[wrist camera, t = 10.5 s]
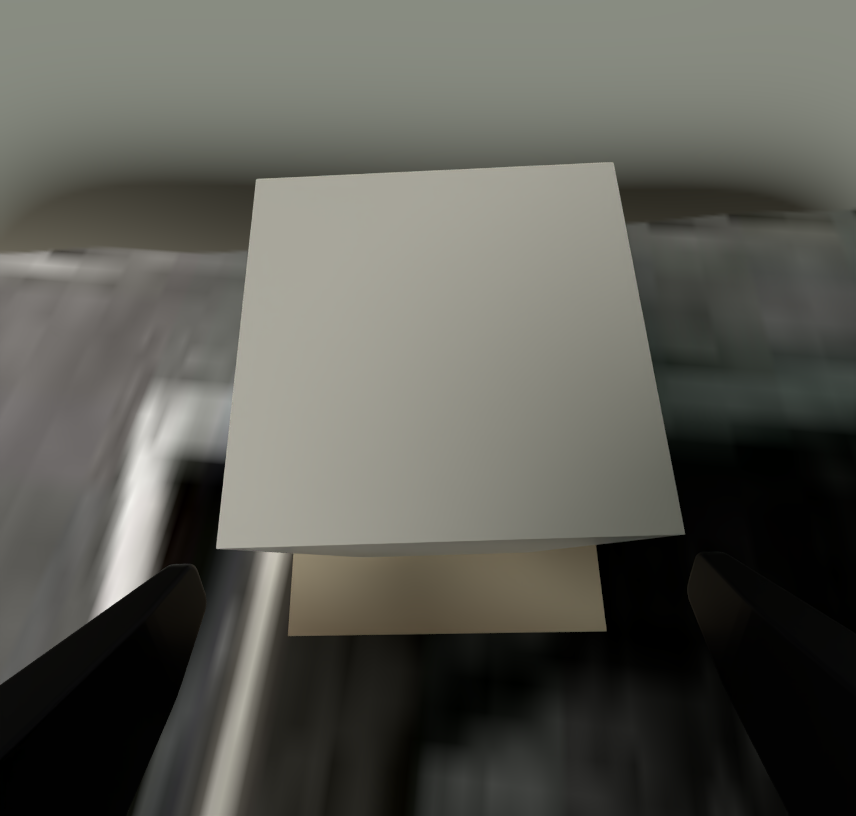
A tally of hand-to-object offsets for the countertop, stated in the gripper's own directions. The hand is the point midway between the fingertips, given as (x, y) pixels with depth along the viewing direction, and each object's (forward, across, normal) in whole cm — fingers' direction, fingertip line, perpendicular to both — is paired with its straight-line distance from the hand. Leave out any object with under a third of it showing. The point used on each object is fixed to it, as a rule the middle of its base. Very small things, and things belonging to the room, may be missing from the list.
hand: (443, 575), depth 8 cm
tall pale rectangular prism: (+7, 0, +3) cm, 8 cm away
